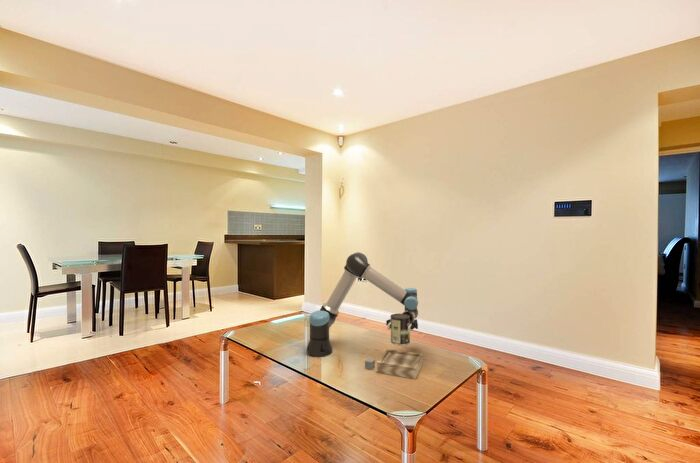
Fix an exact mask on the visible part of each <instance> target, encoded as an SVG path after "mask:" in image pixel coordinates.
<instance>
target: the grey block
mask: <svg viewBox="0 0 700 463" xmlns="http://www.w3.org/2000/svg"><path fill="white" fill-rule="evenodd" d="M375 360H376V359H374V358H369V357H368V358H366V359H365V360H364V369H367V370H374V368H375V366H376V364H375Z"/></svg>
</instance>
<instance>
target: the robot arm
mask: <svg viewBox="0 0 700 463" xmlns="http://www.w3.org/2000/svg"><path fill="white" fill-rule="evenodd" d="M368 260H369V259H368V258H367V256H366V255H365V254H363V253H362V252H358V251H357V252H354V253H353V254H352V253H351V254H350V255H349V256H348V257H347V258H346V260H345V261H346V262H345V265H344V267H343V269H344V272H343V273H342V274H341V277H340V279H339V280H338V283H337V284H336V286H335V288H334V289H333V291H332V293H331V294H330V296H329V298H328V299H327V301H326V302H325V303H323V304H322V306H321V307H320V309H319V310H316V311H313V312H311V314H310V315H309V341H308V344H307V348H306V354H307V353H308V354H309V356H310V355H312V356H311V357H315V356H322V357H327V356H329V355H331V354H332V353H333V347H332V344H331V340H330V328H331V327H332V326H333V324H335V322H336V319H337V317H338V316H339V313H340V312H339V309H340V307H341V305H342V303H343V302H344V300H345V298H346V297H347V295H348V293H349V291H350V290H351V288H352V286H353V285H354V283H355V281H356V280H357V278H360V279H365V280H367V282H369V283H371V284H372V285H373V286H374V287H376V288H378V289H380V290H381V291H382V292H384V293H385V294H386V295H388V296H390V297H392V298H393V299H394V300H396V301H398V302H399V303H400V304H401V305H403V307H404V312H402V313H401V314H406V315H409V316H410V325H409V326H408V332H410V333H411V330H414V329H416V330H417V329H419V324H418V319H417V317H418V316H419V310H418V304H419V300H418V290H417V288H414V287H406V288H405V289H404V288H402V287H401V286H399V285H398V284H396V283H395V282H394V281H392V280H390V279H389V278H387V277H386V276H384V275H383V274H382V273H380V272H378V271H377V270H376V269H374V268H373V267H371V266H372V265H371V264H370V263H369V261H368ZM385 325H386V326H387V331H391V318H389V319H386V321H385ZM308 354H307V355H308ZM326 355H327V356H326Z"/></svg>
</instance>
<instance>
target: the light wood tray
mask: <svg viewBox="0 0 700 463" xmlns="http://www.w3.org/2000/svg"><path fill="white" fill-rule="evenodd" d="M422 365H423V353H420V352H419V353H418V352H412V351H404V350H398V349H392V348H386V350H385V351H384V352H383V354H381V356H380V357H379V358H378V360H377V361H376V373H380V374H386V375H391V376H394V377H403V378H408V379H414V380H416V379H417V377H418V375H419V372H420V371H421V369H422V367H423V366H422Z"/></svg>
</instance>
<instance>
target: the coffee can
mask: <svg viewBox="0 0 700 463" xmlns="http://www.w3.org/2000/svg"><path fill="white" fill-rule="evenodd" d="M389 317H390V319H391V329H390V343H391V344H392V345H395V346H403V347H404V346H408V345H410V343H411V339H410V338H411V334H410V333H411V331H410V332H408V326H409V325H410V316H409V315H406V314H402V313H394V314H393V313H392V314H390V316H389Z"/></svg>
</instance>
